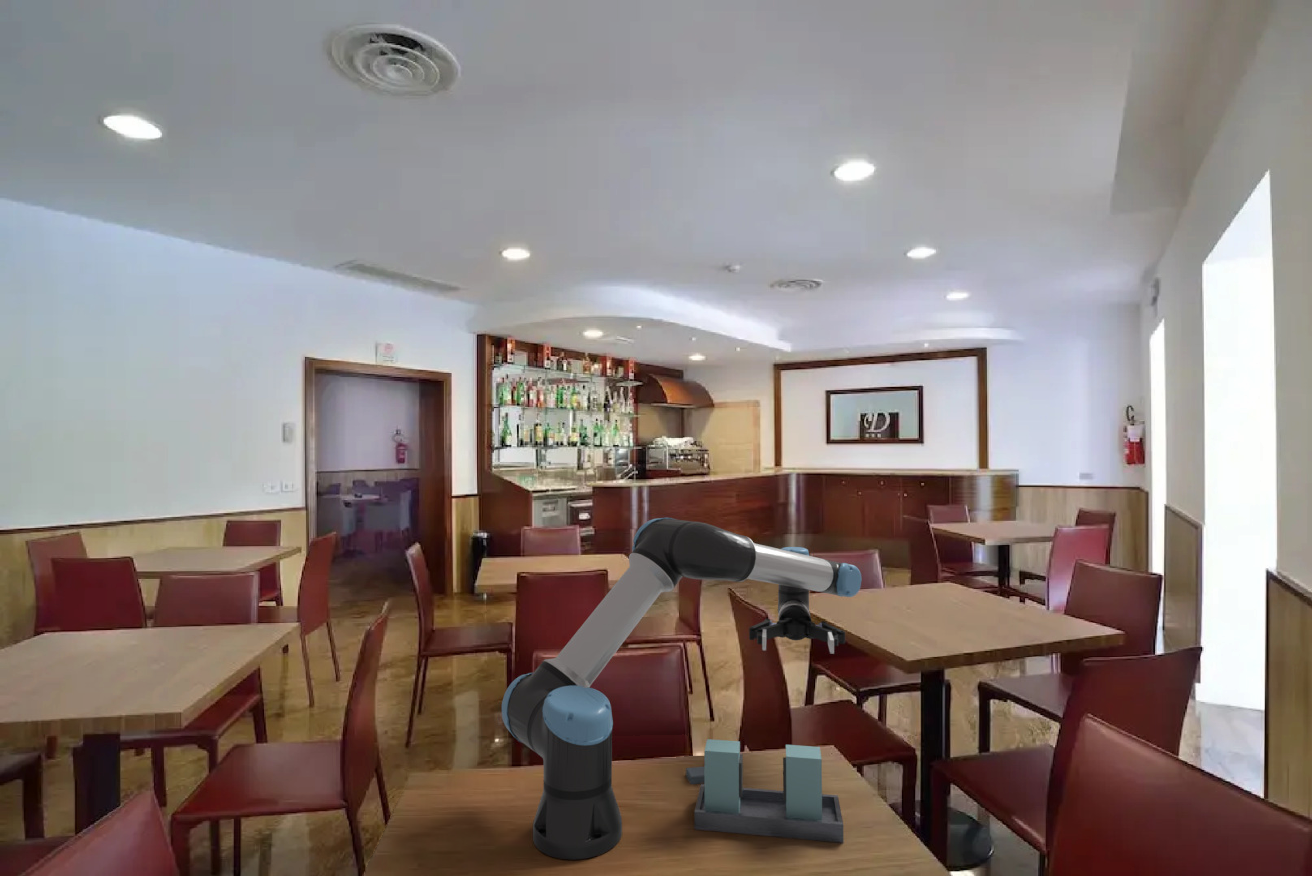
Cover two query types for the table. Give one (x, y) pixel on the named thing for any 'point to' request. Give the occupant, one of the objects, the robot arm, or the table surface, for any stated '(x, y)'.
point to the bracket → (696, 775)
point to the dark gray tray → (771, 817)
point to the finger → (802, 782)
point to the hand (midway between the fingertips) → (797, 645)
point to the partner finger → (723, 775)
